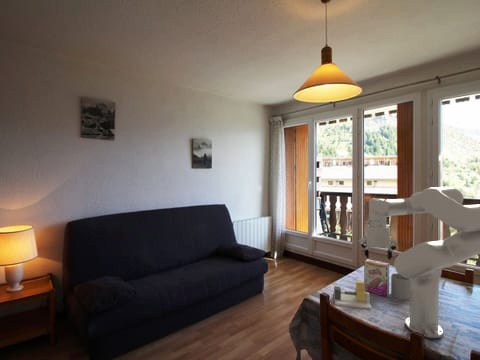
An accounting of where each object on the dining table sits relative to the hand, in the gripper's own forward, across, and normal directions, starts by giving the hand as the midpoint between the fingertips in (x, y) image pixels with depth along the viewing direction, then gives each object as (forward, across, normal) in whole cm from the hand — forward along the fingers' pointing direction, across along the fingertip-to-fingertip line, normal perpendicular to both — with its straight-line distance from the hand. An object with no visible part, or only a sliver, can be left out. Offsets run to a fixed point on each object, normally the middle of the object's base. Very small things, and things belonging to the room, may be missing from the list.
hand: (378, 258), depth 125 cm
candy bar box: (+22, +1, +10) cm, 24 cm away
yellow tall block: (+19, -9, -4) cm, 22 cm away
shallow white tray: (+21, -13, -4) cm, 25 cm away
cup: (+22, +12, +9) cm, 26 cm away
